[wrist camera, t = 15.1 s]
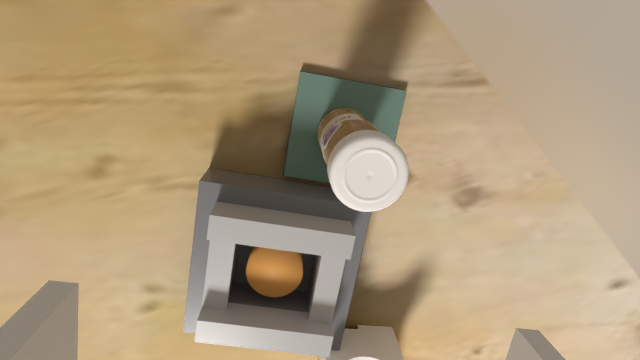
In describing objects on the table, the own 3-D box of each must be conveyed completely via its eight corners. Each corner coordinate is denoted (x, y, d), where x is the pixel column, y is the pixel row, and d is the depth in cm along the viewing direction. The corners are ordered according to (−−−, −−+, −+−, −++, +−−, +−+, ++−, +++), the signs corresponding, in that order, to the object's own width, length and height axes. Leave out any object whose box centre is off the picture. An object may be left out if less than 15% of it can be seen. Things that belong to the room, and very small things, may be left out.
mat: (283, 173, 38) (283, 175, 38) (300, 71, 36) (300, 71, 35) (381, 189, 39) (382, 191, 38) (404, 90, 37) (406, 90, 36)
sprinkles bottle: (326, 100, 36) (345, 124, 23) (377, 117, 37) (423, 149, 24) (309, 151, 37) (318, 201, 24) (359, 166, 38) (393, 223, 25)
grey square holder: (193, 306, 41) (173, 355, 35) (209, 167, 38) (190, 192, 31) (335, 323, 43) (343, 374, 36) (364, 192, 39) (378, 220, 32)
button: (246, 276, 40) (242, 293, 37) (253, 228, 38) (250, 242, 35) (297, 282, 40) (298, 300, 37) (306, 235, 39) (307, 250, 36)
